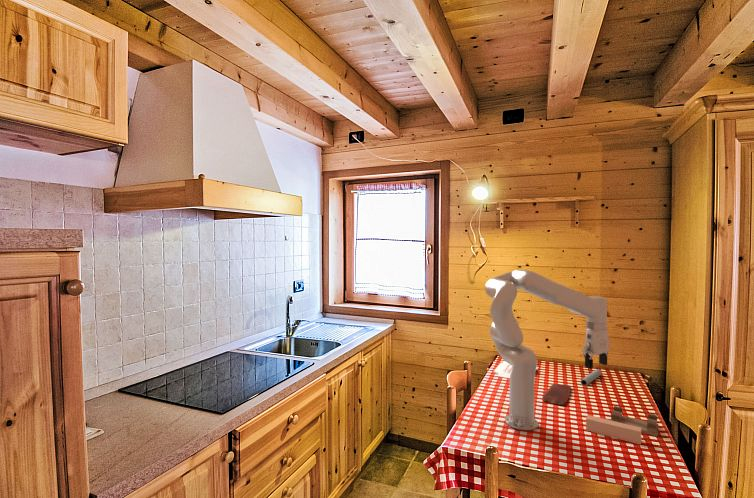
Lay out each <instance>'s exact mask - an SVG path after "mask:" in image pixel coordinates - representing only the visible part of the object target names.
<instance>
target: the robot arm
mask: <svg viewBox="0 0 754 498" xmlns="http://www.w3.org/2000/svg"><path fill="white" fill-rule="evenodd" d="M518 290H521V291H524V292H527V293H528V294H530V295H533V296H535V297H537V298H539V299H541V300H544V301H546V302H548V303H551V304H553V305H555V306H556V305H557V306H561V307H563V308H566V309H567V310H568V312H570V313H572V314H576V315H580V316H582V317H586V319H585V320H586V321H585V322H586V323H585V326H586V328H585V329H586V331H585V336H584V346H583V348H582V349H581V351H582V355H583V358H584V367H585V368H587V369H590V370H592V369H593V368H594V359H593V356H594V355H595V356H597V355H599V356H598V363H599V364H601V365H603V366H608V355H609V351H610V347H611V344H610V342H609V341H610V340H609V338H610V337H609V332H608V329H607V328H608V300H607V298H606V297H605V296H599V295H590V296H588V295H587V294H584V293H581V292H579V291H577V290H574V289H572V288H569V287H568V286H565V285H563V284H560V283H559V282H556V281H553V280H551V279H550V278H547V277H545V276H543V275H541V274H539V273H537V272H534V271H533V270H532V271H531V270H528V269H527V270H526V269H521V268H520V269H515V270H511V271H508V272H505V273H503V274H500V275H497V276H494V277H492V278H490V279H488V281H486V283H485V286H484V291H485V293H486V295H487V296H488V297H489V298H491V299H492V301H491V305H490V309H489V313H490V317H491V320H492V323H491V325H490V327H489V335H490V337H491V339H492V342H493V343H494V345H495V346H494V347H495V348H496V350H497V352H498V354H499V355H500V357H501V359H502V360H503V361H505V362H507V363H509V364H510V365H512V366H513V369H512V372H511V375H510V378H509V409H508V410H509V411H508V412H509V414H508V415H507V416H505V419H504V420H505V424H506V425H508V426H510V427H512V428H513V429H516V430H520V431H533V430H536V429H538V427H539V422H538V420H537V419H536V418H535V383H536V382H535V381H536V379H535V378H536V371H537V370H536V367H538V358H537V355H536V353H535V352H534V351H533V350H532V349H531V348H529V347H527V346H525V345H523V341H524V334H523V332H522V329H521V327H520V325H519V323H518V321H517V319H516V317H515V315H514V313H513V304H514V302H515V300H516V299H517V295H518ZM593 370H594V369H593Z"/></svg>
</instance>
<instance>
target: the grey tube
mask: <svg viewBox="0 0 754 498" xmlns="http://www.w3.org/2000/svg"><path fill="white" fill-rule="evenodd" d="M601 375H602V370H601V369H599V368H598V369H595V370H593V371H591V373H589V374H587V375H586V376H585V377H583V378H581V380H580V384H581V385H582V386H584V387H586V386H588V385H590V384H591V383H592V382H593V381H594V380H596V379H597V378H598V377H600V376H601Z"/></svg>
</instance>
